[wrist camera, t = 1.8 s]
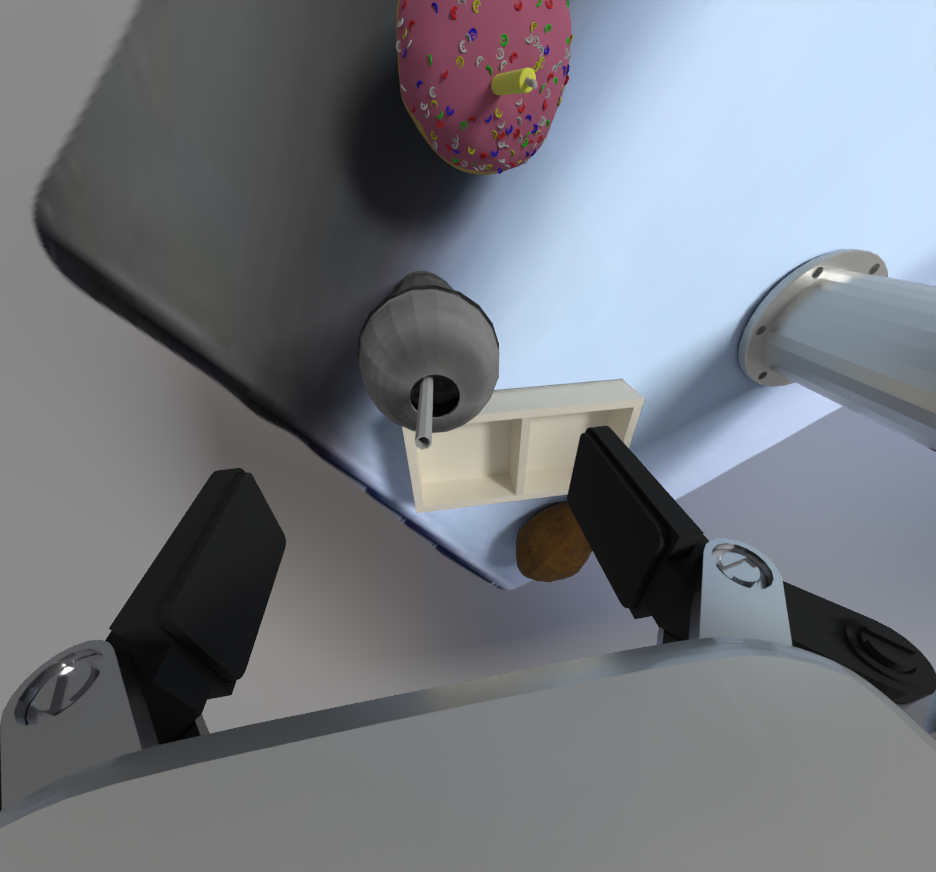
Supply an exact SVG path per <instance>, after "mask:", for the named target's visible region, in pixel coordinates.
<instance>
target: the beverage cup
mask: <svg viewBox="0 0 936 872" xmlns="http://www.w3.org/2000/svg"><path fill="white" fill-rule="evenodd" d="M357 356H358V360H359V365H360V369H361V373H362V378H363V382H364V386H365V389H366V391H367V392H368V394H369V396H370V397H371V399H372V400H373V402H374V404H375V405H376V407H377V408H378V409H379V410H380V411H381V412H382V413H383V414H384V415H386V416H387V417H388V418H389V419H390V420H391V421H393V422H394V423H396V424H398V425H400V426H403V427H405V428H407V429H409V430H411V431H416V434H415V444H416V447H418V448H419V449H421V450H423V449H428V448H429V447H430V446H431V444H432V433H439V432H448V431H450V430H453V429H455V428H458V427H461V426H463V425H465V424H466V423H467V422H469V421H470V420H472V419H473V418H474V417H476V416H477V415H478V414H479V413H480V412H481V410H482V409H483V408H484V407H485V405H486V404H487V403H488V401H489V400H490V399H491V396H492V393H493V391H494V388H495V385H496V382H497V380H498V377H499V343H498V339H497V336H496V333H495V330H494V327H493V323H492V322H491V321H490V319H489V318H488V317H487V315H486V314H485V313H484V311H483V310H482V309H481V307H480V306H479V305H478V304H477V303H475V302H474V301H472V300H471V299H469V298H468V297H466V296H465V295H463V294H462V293H461V292H459V291H455V290H453V289H452V288H451V287H450V286H449V284H448V283H447V282H446V281H444V280H443V279H441V278H440V277H438V276H437V275H435V274H434V273H430V272H427V271H417V272H413V273H411V274H409V275H407V276H406V277H405V278H403V279H402V280H401V281H400V282H399V283H398V284H397V286H396V287H395V289H394V291H393V292H392V294H391V295H390V296H388V297H387V298H385V299H384V300H383V301H382V302H381V303H380V304H379V305H378V306H377V307H376V308H375V309H374V310H373V311H371V312H370V314H369V316H368V318H367V320H366V322H365V324H364V326H363V328H362V330H361V332H360V336H359V345H358V353H357Z"/></svg>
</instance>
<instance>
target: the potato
mask: <svg viewBox="0 0 936 872" xmlns="http://www.w3.org/2000/svg"><path fill="white" fill-rule="evenodd" d="M592 551H593V550H592V549H591V547H590V545H589V543H588V541H587V539H586V537H585V535H584V534H583V532H582V530H581V528H580V526H579V524H578V522H577V520H576V519H575V517H574V515H573V513H572V511H571V509H570V507H569V505H568V502H564V503H558V504H555V505H552V506H550V507H548V508H545V509H543V510H542V511H541V512H539V513H538V514H536V515H535V516H534V517H532V518H531V519H530V520H529V521H528V522H527V523H526V524H525V525H523V526H522V527H521V529H520V531H519V533H518V536H517V540H516V558H517V566H518V568H519V570H520V572H521V573H522V574H523V575H524V576H526V577H527V578H530V579H534V580H536V581H544V582H552V581H556V580H560V579H565V578H568V577H571V576H573V575H574V574H575V573H577V572H578V571H579V570H580V569H581V567H582V566H583V565H584V563H585V562H586V561H587V559H588V558H589V556H590V554H591V552H592Z"/></svg>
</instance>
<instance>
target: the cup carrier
mask: <svg viewBox="0 0 936 872" xmlns="http://www.w3.org/2000/svg"><path fill="white" fill-rule="evenodd" d="M644 400H645V398H644V397H642V396H641V395H640V394H639V393H638V392H637V391H636V390H634V389H633V388H632V387H631V386H630V385H629V384H628V383H626V382H625V381H624V380H623V379H616V380H605V381H593V382H582V383H571V384H559V385H548V386H537V387H526V388H514V389H503V390H494V391H493V393H492V396H491V399H490V400H489V401H488V403H487V404H486V405H485V407H484V408H483V409H482V410H481V412H480V413H479V414H478V415H477V416H476V417H474V418H473V419H472V420H470V421H469V422H467V423H466V424H465V425H463V426H461V427H458V428H455V429H453V430H450V431H448V432H439V433H432V444H431V446H430V447H429V448H428V449H423V450H421V449H419V448H418V447H416V444H415V434H416V431H411V430H409V429H407V428H405V427H403V426H402V429H403V435H404V441H405V447H406V453H407V459H408V465H409V471H410V477H411V483H412V489H413V495H414V501H415V507H416V513H420V512H428V511H436V510H445V509H453V508H461V507H469V506H477V505H486V504H494V503H502V502H510V501H518V500H527V499H535V498H543V497H551V496H559V495H567V494H568V490H569V486H570V481H571V476H572V472H573V467H574V462H575V458H576V453H577V448H578V443H579V439H580V435H581V434H582V433H585V431H586V429H587V428H589V427H598V426H609V427H610V428H611V429H612V430H613V431H614V432H615V434H616V435H617V436H618V437H619V438H620V439H621V440H622V441H623V443H624V444H625V445H626V446H627V447H628V448H629V446H630V443H631V440H632V437H633V434H634V431H635V428H636V425H637V422H638V419H639V416H640V412H641V409H642V406H643V403H644Z"/></svg>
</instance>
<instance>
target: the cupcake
mask: <svg viewBox="0 0 936 872" xmlns="http://www.w3.org/2000/svg"><path fill="white" fill-rule="evenodd" d="M568 7H569V1H568V0H398V5H397V14H396V32H397V43H396V49H397V52H398V68H399V81H400V91H401V96H402V100H403V103H404V105H405V107H406V109H407V111H408V113H409V114H410V116H411V118H412V119H413V121H414V123H415V125H416V126H417V128H418V130H419V131H420V133H421V134H422V136H423V137H424V139H425V140H426V141H427V143H428V144H429V145H430V147H431V148H432V149H433V150H434V151H435V152H436V153H437V154H438V155H439V156H440V157H441V158H442V159H443V160H444V161H445V162H447V163H448V164H450V165H451V166H453V167H454V168H456V169H458V170H461V171H463V172H467V173H472V174H480V175H490V174H495V173H499V174H500V173H502V172H503V171H506V170H508V169H511V168H515V167H518V166H520V165H522V164H523V163H524V164H525V163H527V162H528V161H529V158H531V157H532V156H533V155H534V154H535V153H536V151H537V150H538V149H539V148H540V147H541V145H542V144H543V143H544V141H545V139H546V137H547V134H548V131H549V129H550V126H551V123H552V121H553V118H554V116H555V113H556V110H557V108H558V106H559V105H560V103H561V97H562V94H563V91H564V87H565V85H566V84H567V82H568V80H569V76H568V72H569V59H570V56H571V54H570V43H571V41H572V39H573V34H572V36H571V19H570V14H569V9H568Z"/></svg>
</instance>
